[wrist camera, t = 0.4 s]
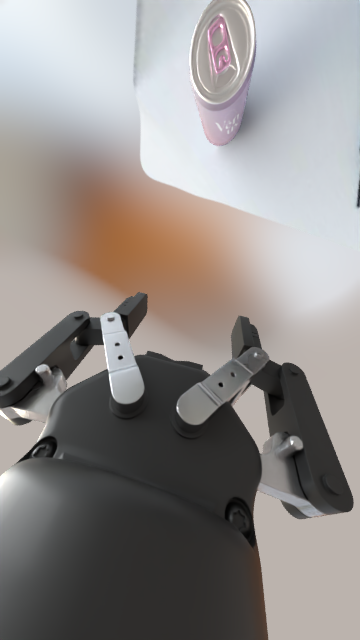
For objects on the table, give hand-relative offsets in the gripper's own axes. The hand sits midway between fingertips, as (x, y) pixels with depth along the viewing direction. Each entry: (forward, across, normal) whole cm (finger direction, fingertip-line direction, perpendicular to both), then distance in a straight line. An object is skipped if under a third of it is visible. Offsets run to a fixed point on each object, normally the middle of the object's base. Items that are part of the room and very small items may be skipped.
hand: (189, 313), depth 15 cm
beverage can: (+29, +3, -18) cm, 34 cm away
